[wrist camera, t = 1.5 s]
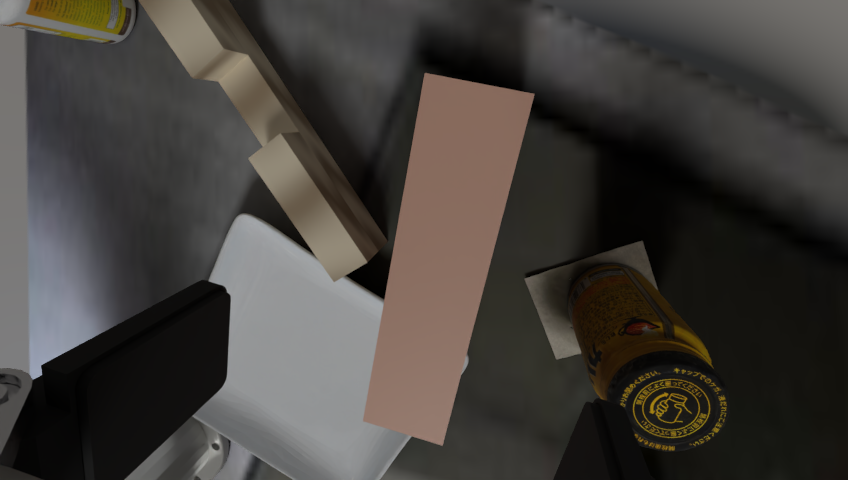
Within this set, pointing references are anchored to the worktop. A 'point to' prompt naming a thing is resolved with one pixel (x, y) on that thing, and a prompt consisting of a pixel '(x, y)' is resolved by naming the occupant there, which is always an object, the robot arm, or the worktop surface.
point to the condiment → (633, 347)
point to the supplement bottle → (72, 18)
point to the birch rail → (273, 130)
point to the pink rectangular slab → (443, 249)
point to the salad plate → (297, 361)
